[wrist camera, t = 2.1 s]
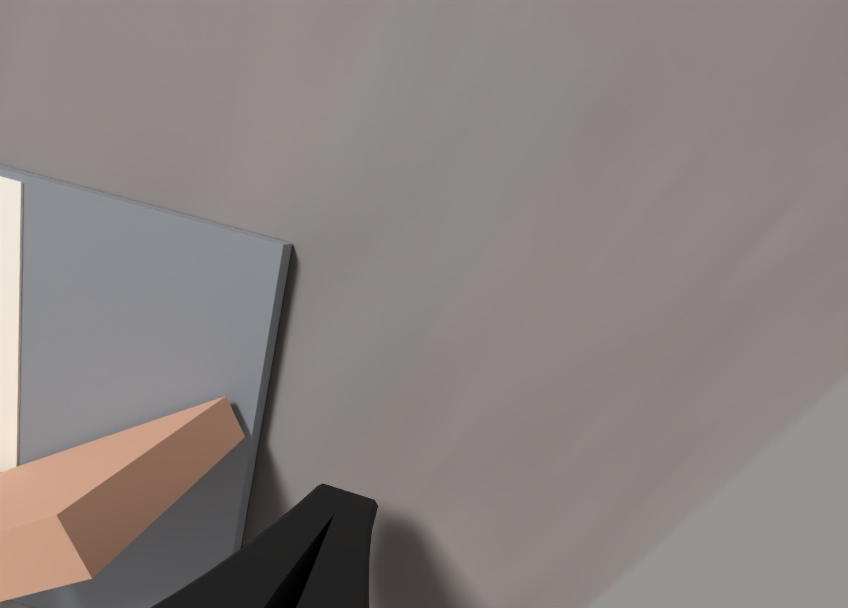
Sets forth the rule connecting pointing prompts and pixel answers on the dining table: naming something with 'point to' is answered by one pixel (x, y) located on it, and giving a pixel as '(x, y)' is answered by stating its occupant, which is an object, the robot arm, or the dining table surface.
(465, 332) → the dining table surface
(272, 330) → the card
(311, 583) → the robot arm
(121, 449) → the tan flat block
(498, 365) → the dining table surface
